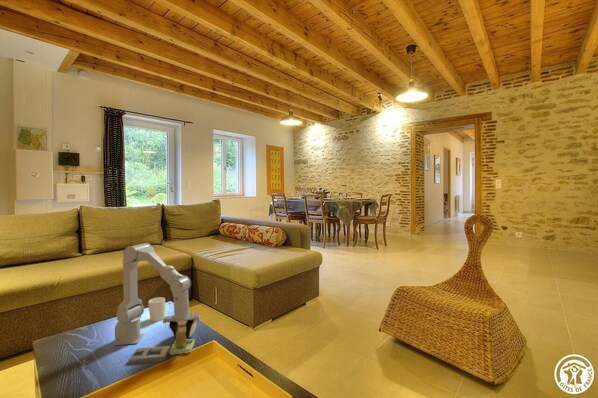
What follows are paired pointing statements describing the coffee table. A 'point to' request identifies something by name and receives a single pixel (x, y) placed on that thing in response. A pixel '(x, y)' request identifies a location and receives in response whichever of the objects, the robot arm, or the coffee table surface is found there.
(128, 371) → the coffee table surface
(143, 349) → the grey rectangular frame
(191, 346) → the parts tray
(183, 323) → the lidded jar
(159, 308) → the white cup
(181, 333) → the upright wooden block
